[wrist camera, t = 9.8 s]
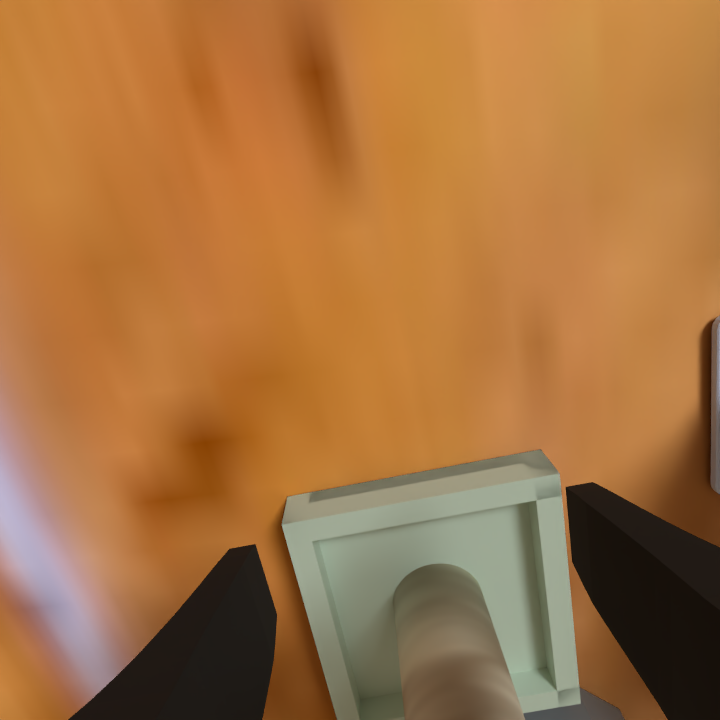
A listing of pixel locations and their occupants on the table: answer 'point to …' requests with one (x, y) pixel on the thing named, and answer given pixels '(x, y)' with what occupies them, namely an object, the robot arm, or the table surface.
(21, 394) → the table surface
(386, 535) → the tray
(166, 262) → the table surface
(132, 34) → the table surface
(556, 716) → the octagonal ring
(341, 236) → the table surface
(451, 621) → the dowel
